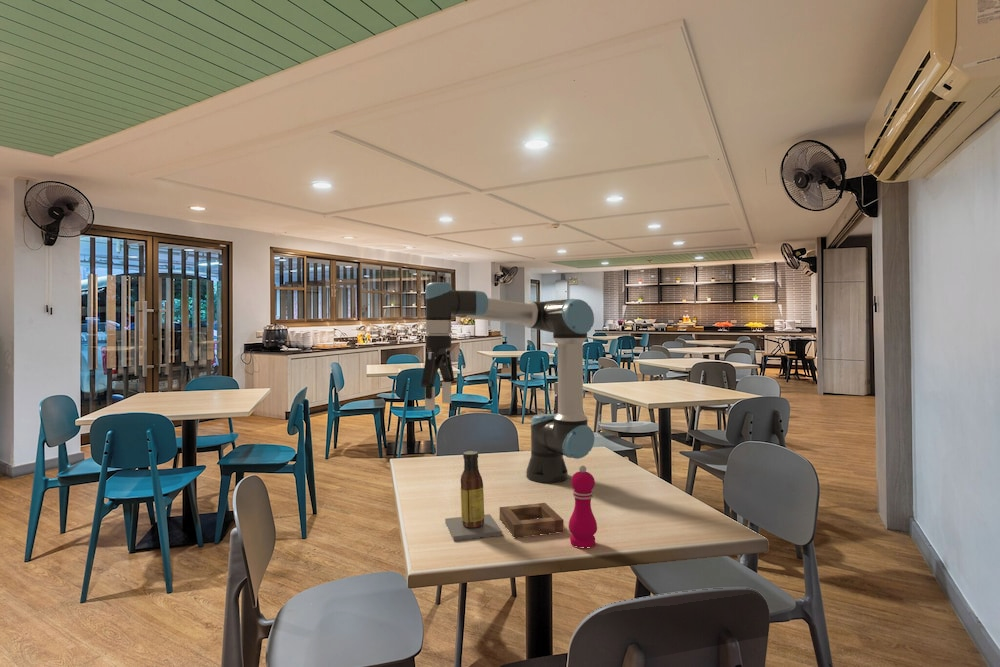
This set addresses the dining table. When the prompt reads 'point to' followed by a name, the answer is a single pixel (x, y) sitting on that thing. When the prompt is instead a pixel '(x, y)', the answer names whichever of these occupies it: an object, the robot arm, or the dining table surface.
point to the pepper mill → (582, 510)
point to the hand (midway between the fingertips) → (438, 406)
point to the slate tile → (468, 533)
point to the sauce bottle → (472, 492)
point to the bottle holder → (525, 527)
